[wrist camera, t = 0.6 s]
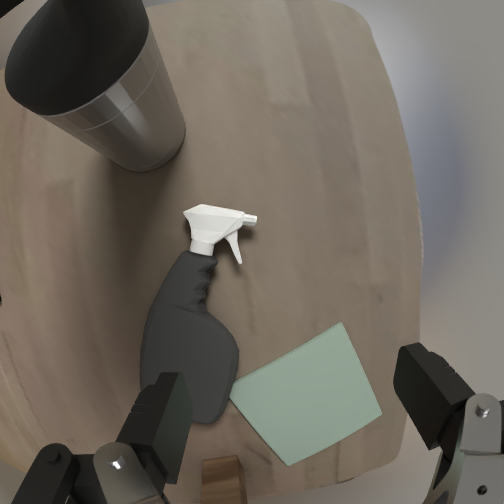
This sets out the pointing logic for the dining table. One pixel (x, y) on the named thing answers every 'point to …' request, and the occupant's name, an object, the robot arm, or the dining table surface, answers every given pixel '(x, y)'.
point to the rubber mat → (308, 397)
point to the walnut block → (223, 481)
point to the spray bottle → (194, 318)
